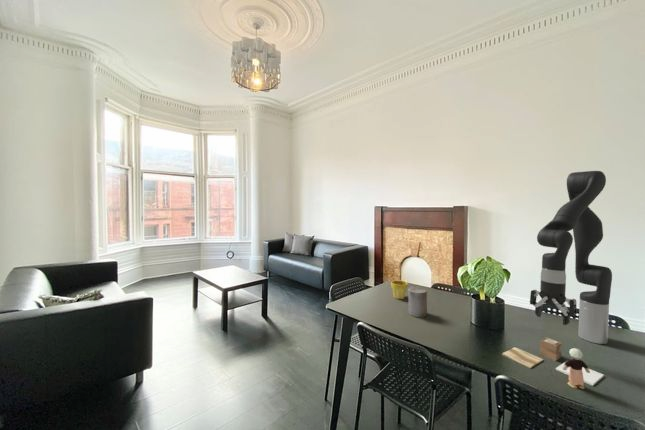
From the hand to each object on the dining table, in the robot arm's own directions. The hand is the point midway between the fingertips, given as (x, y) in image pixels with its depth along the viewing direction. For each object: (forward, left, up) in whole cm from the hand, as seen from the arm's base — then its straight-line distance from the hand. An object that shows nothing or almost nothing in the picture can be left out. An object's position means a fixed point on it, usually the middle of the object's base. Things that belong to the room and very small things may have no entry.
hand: (551, 320), depth 107 cm
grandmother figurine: (+14, +12, -15) cm, 24 cm away
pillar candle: (+14, -55, -15) cm, 59 cm away
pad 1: (+11, -5, -15) cm, 19 cm away
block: (0, 0, -15) cm, 15 cm away
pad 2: (+4, +10, -15) cm, 18 cm away
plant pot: (+4, -79, -15) cm, 80 cm away
